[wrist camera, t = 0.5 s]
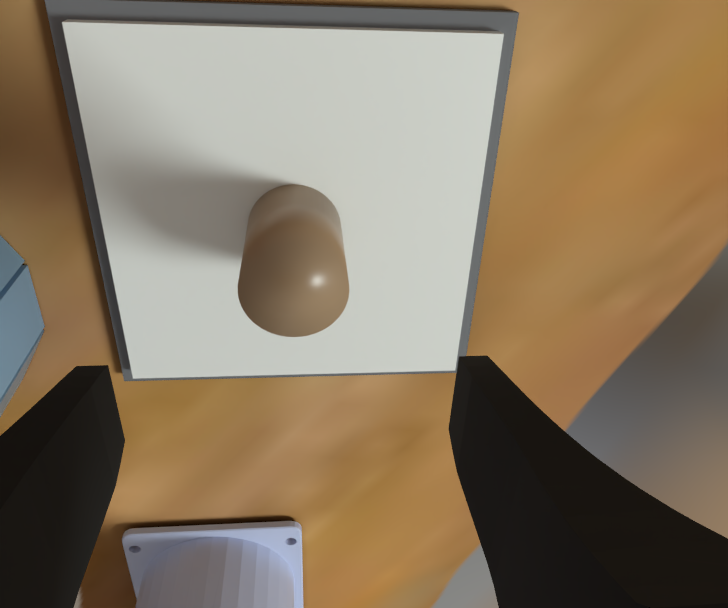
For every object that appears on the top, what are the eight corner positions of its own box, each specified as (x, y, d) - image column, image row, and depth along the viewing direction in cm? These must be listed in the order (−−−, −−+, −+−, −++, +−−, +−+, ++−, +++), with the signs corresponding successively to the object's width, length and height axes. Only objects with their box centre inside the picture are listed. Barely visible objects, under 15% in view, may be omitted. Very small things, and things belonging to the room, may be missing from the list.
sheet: (452, 362, 24) (481, 445, 21) (136, 370, 23) (104, 459, 20) (499, 31, 18) (552, 62, 14) (68, 19, 17) (1, 50, 13)
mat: (461, 366, 25) (463, 372, 25) (126, 374, 24) (124, 381, 24) (514, 10, 18) (518, 12, 18) (49, -4, 17) (44, -2, 17)
